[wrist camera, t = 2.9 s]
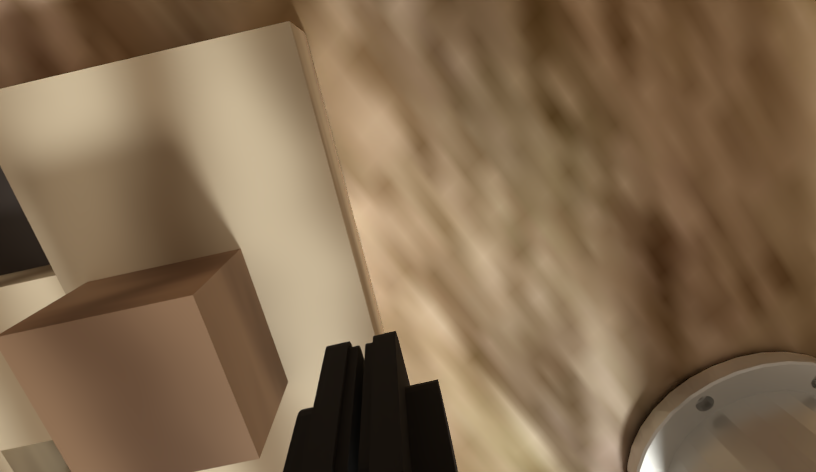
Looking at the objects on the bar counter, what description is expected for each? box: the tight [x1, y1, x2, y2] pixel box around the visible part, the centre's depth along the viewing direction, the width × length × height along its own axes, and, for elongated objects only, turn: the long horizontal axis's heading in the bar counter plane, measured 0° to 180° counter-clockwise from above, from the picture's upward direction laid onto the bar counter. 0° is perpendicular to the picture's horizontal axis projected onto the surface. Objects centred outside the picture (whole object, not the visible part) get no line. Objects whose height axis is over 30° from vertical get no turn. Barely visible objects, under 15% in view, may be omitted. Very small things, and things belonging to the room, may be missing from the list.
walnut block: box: [0, 249, 288, 472], centre depth 15 cm, size 6×6×4 cm
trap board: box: [0, 21, 384, 472], centre depth 17 cm, size 28×20×6 cm
